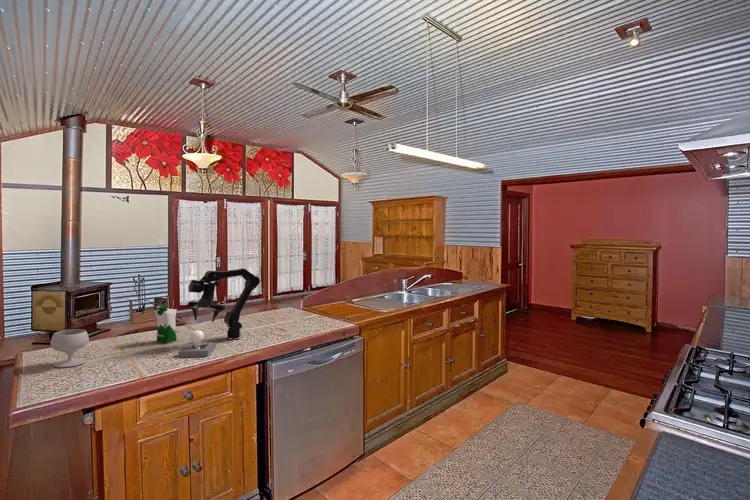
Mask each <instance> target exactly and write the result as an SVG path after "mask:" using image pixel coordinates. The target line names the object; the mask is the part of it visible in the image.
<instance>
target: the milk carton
mask: <svg viewBox="0 0 750 500" xmlns="http://www.w3.org/2000/svg"><path fill="white" fill-rule="evenodd" d="M177 310H178V309H175V308H168V306H159V307H158V310H155V311H154V312H155V316H156V331H157V332H156V334H157V335H156V343H157V344H165V345H166V344H169V343H173V342H177V333H176V315H177Z"/></svg>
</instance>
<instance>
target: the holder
mask: <svg viewBox="0 0 750 500" xmlns="http://www.w3.org/2000/svg"><path fill="white" fill-rule="evenodd" d="M215 348H216V349H217V342H201V345H200V349H195V347H194V344H193V342H191V343H190V342H189V343H187V344H186V345H185V346H183V347H182V348H181V349H180V350H179V351H177V352H178V358H204V357H205V358H207V357H206V356H208V357H210V355H211V354H212V353H213V352H214V351H215V350H216V349H215ZM214 349H215V350H214ZM213 350H214V351H213ZM212 351H213V352H212ZM211 352H212V353H211Z"/></svg>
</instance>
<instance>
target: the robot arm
mask: <svg viewBox="0 0 750 500" xmlns="http://www.w3.org/2000/svg"><path fill="white" fill-rule="evenodd" d="M240 276H241V277H242V278H243V279H244V280H245V282H244V288H243V290H242V292H241V293H240V295H239V296H238V299H237V300H236V303H235V305H234V306H233V308H232V309H231V310H230V311H229V310H227V311H226V313H225V316H223V318H224V319H223V322H224V324H225V325H226V327H228V328H227V333H226V334H227V335H226V337H227V339H228V338H238V337H240V336H241V337H242V335H241V334H242V333H241V329H242V328H243V324H242V323H241V322H239V321H240V318H241V317H240V315H241V312H242V310H243V308H244V306H245V304H246V302H247V301H248V299H249V298H250V295H251V294H252V292H253V291H254V290H255V289H256V288H257V287H258V286H259V285H260V282H261V279H260V277H258V276H257V275H254V274H253V273H251V272H250V271H249V270H247V269H246V268H243V267H242V268H237V269H229V270H223V271H221V270H220V271H219V270H207V271H205V273H204V275H203V277H201V278H200V279H199V280H196V279H191V280H190V283H189V285H188V287H187V288H188V292H189V293H197V294H198V293H199V294H200V293H202V295H201V297H200V299H198V301H197V300H195V301H194V300H191V301H188V302H187V307H188V308H189V309H191V311H192V313H193V317H194V318H193V319H194V320H195V321H197V319H198V315H199V308H203V309H207V308H209V309H214V310H213V316H212V320H211V321H212V322H211V323H214V322H215V320H216V318H217V317H218V315H219V314H220V313H221V312H223V311H225V310H226V306H225V304H221V303H218V304H217V303H216V304H214V298H215V290H216V287H219V286H220V284H219V283H218V281H220V280H222V279H226V278H227V279H228V278H233V277H240ZM241 337H240V338H241Z"/></svg>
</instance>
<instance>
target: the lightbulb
mask: <svg viewBox="0 0 750 500" xmlns="http://www.w3.org/2000/svg"><path fill="white" fill-rule="evenodd" d="M204 338H205V334H204V333H203V331H201V330H198V329H196V330H194V331H192V332H191V334H190V337H189V339H190V341H191V343H193V344H194V347H195V349H200V345H201V343H203V342H202V341H203V340H204Z"/></svg>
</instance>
